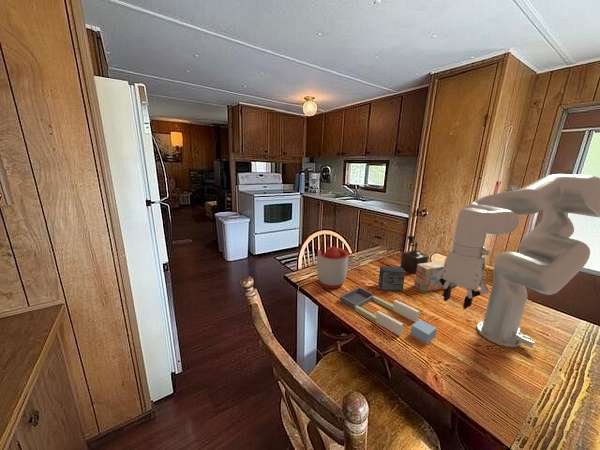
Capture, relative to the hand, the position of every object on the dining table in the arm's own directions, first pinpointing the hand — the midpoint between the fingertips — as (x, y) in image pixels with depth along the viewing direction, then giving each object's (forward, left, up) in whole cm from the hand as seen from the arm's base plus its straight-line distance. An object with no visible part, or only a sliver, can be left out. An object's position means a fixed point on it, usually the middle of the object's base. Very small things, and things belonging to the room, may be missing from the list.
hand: (456, 302), depth 77 cm
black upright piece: (+40, -54, -18) cm, 69 cm away
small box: (+34, -22, -18) cm, 44 cm away
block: (+8, 0, -18) cm, 19 cm away
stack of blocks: (+21, -42, -18) cm, 51 cm away
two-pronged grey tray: (+27, 0, -17) cm, 32 cm away
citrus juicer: (+56, -2, -18) cm, 59 cm away
